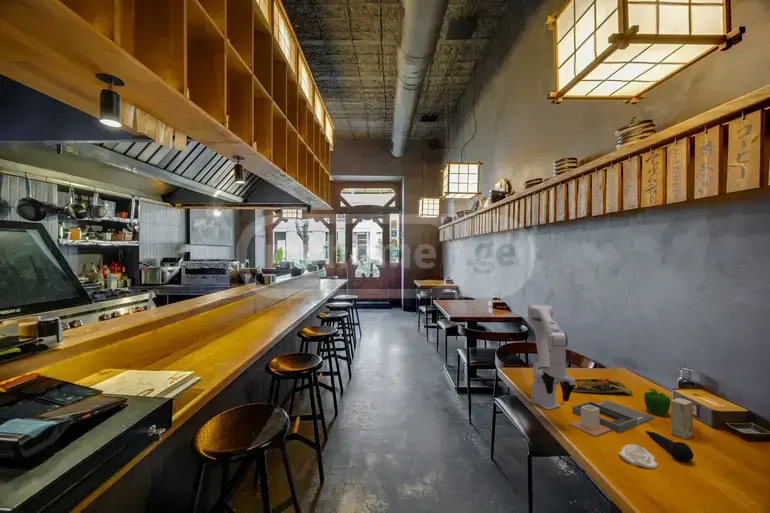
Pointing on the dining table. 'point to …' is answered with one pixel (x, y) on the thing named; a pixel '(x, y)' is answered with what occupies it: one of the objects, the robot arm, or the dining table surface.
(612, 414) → the equipment case
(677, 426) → the skincare box
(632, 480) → the dining table surface
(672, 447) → the microphone
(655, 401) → the bell pepper
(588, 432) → the terracotta tile
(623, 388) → the prepared meal
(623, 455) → the rose
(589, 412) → the block
